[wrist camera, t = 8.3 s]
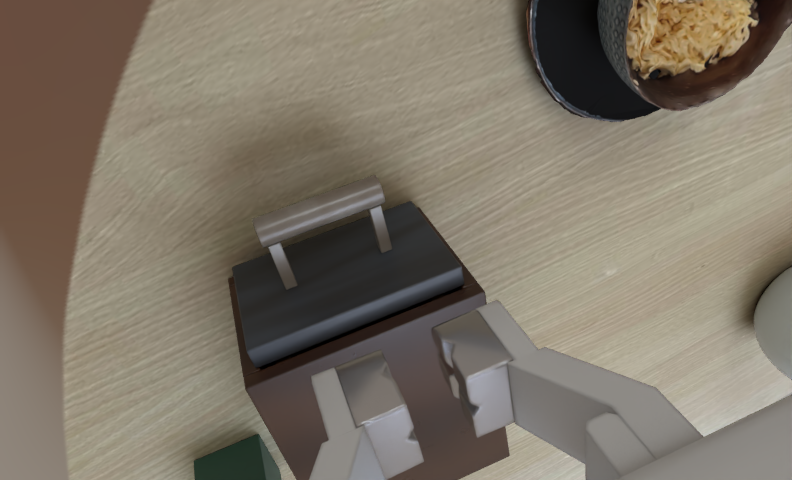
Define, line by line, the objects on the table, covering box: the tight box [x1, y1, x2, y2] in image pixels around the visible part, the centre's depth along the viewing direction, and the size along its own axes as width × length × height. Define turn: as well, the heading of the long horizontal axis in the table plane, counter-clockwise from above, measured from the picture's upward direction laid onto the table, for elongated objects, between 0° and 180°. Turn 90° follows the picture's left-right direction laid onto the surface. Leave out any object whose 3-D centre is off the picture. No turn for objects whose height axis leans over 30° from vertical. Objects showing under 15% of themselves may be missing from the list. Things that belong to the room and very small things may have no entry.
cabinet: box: [228, 207, 509, 480], centre depth 33 cm, size 14×12×9 cm
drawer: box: [232, 175, 465, 368], centre depth 31 cm, size 17×10×7 cm, turn 12°
